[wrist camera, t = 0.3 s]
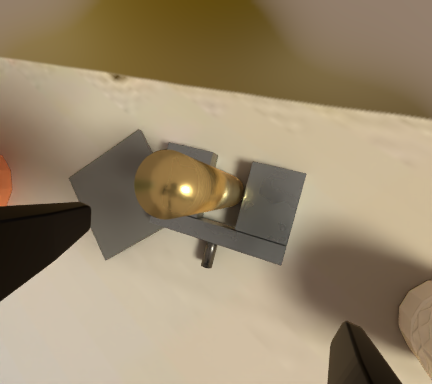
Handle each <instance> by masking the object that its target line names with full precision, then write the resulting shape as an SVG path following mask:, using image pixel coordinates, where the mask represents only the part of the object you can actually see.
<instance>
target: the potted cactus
mask: <svg viewBox="0 0 432 384" xmlns="http://www.w3.org/2000/svg"><path fill="white" fill-rule="evenodd" d="M11 191H12V182H11V170H10V168H9V167H8V165H7V163H6V161H5V159H4V158H3V156H2V155H0V206H7V203H8V200H9V197H10V194H11Z"/></svg>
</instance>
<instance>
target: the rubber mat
mask: <svg viewBox="0 0 432 384" xmlns="http://www.w3.org/2000/svg"><path fill="white" fill-rule="evenodd" d="M150 154H152V151H151V149H150V147H149V145H148V143H147V141H146V139H145V137H144V135H143V133H142V131H141V130H137V131H136V132H135V133H133V134H132V135H130V136H129V137H127V138H126V139H125V140H123V141H122V142H120V143H119V144H117V145H116V146H114V147H113V148H112V149H110V150H109V151H107V152H106V153H104V154H103V155H102V156H100V157H99V158H97V159H96V160H94V161H93V162H91V163H90V164H89V165H87V166H86V167H84V168H83V169H81V170H80V171H79V172H77V173H76V174H74V175H73V176H71V177H70V178H69V179H70V182H71V184H72V186H73V188H74V191H75V193H76V195H77V198H78V200H79V202H82V203H85V204H87V205H89V206H90V207H91V226H90V227H91V229H92V231H93V234H94V236H95V238H96V240H97V243H98V245H99V247H100V249H101V252H102V254H103V256H104V258H105V260H108V259H109V258H111V257H113V256H115V255H116V254H118V253H120V252H122V251H123V250H125V249H127V248H129V247H131V246H132V245H134V244H136V243H138V242H139V241H141V240H143V239H145V238H146V237H148V236H150V235H152V234H153V233H155V232H157V231H159V230H160V229H162V228H164V227H162V226H159V225H156V224H153V223H150V222H149V221H150V217H151V215H149V214H148V213H147V212H145V211H144V209H143V208H142V207H141V206H140V204H139V202H138V200H137V198H136V195H135V189H134V181H135V175H136V172H137V170H138V167H139V166H140V164H141V163H142V161H143V160H144V159H145V158H146V157H147V156H149V155H150Z"/></svg>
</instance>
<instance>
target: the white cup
mask: <svg viewBox="0 0 432 384" xmlns="http://www.w3.org/2000/svg"><path fill="white" fill-rule="evenodd" d="M399 329H400V331H401V333H402V335H403V337H404V339H405V341H406V343H407V345H408V347H409V348H410V349H411V351H412V352H413V353H414V355H415V356H416V357H417V358H418V360H419V362H420V364H421V365H422V367H423V368H424V370H425V371H426V373H427V374H428V376H429V377H430V378H431V380H432V280H430V281H426V282H424V283H422V284H421V285H419V286H417V287H415V288H413V289H412V290H410V291H409V292H408V294H407V295H406V297H405V298H404V300H403V301H402V303H401V305H400V306H399Z"/></svg>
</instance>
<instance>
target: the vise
mask: <svg viewBox="0 0 432 384" xmlns="http://www.w3.org/2000/svg"><path fill="white" fill-rule="evenodd" d="M167 150H175V151H177V152H180V153H182V154H185V155H187V156H189V157H191V158H194V159H196V160H198V161H201V162H203V163H205V164H208V165H210V166H212V167H214V168H215V166H216V162H217V158H218V155H216V154H215V153H213V152H209V151H205V150H201V149H196V148H192V147H187V146H183V145H179V144H174V143H170V142H169V144H168V148H167ZM305 177H306V173H301V172H297V171H293V170H288V169H284V168H280V167H275V166H271V165H266V164H262V163H258V162H253V163H252V167H251V170H250V174H249V178H248V182H247V186H246V189H245V193H244V197H243V201H242V205H241V208H240V212H239V216H238V220H237V224H236V227H232V226H229V225H226V224H223V223H219V222H216V221H213V220H209V219H206V218H203V217H202V216H203V213H204V212H203V213H198V214H193V215H188V216H183V217H179V218H174V219H165V220H164V219H158V218H155V217H153V216H151V217H150V221H149V222H150V223H153V224H156V225H159V226H162V227H165V228H168V229H171V230H174V231H177V232H180V233H183V234H186V235H189V236H193V237H196V238H199V239H202V240H205V241H207V243H206V247H205V251H204V255H203V259H202V263H201V266H203V267H205V268H212V264H213V260H214V256H215V252H216V249H217V245H220V246H223V247H226V248H229V249H232V250H235V251H238V252H241V253H244V254H247V255H250V256H254V257H257V258H260V259H263V260H266V261H269V262H272V263H275V264H278V265H281V264H282V261H283V257H284V254H285V250H286V246H287V243H288V239H289V235H290V232H291V228H292V224H293V221H294V217H295V214H296V210H297V206H298V203H299V199H300V195H301V192H302V188H303V184H304V181H305Z"/></svg>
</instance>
